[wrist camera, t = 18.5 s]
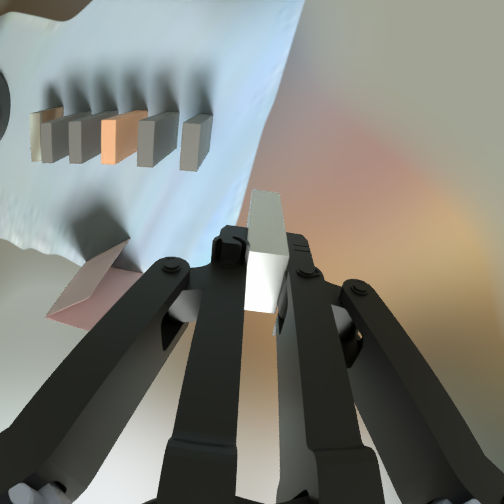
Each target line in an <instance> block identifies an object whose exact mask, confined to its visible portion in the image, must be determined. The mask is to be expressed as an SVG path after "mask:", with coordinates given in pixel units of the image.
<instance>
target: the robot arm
mask: <svg viewBox="0 0 504 504" xmlns="http://www.w3.org/2000/svg"><path fill="white" fill-rule="evenodd" d="M9 116H10V93H9V89H8V85H7V83H6V80H5V79H4V77H3V76H2V75H1V74H0V140H1V139H2V137H3V135H4V133H5V131H6V128H7V125H8V121H9ZM277 305H278V315H277V319H276V322H275V327H274V330H273V334H272V335H274V336H275V333H276V341H277V369H278V399H279V433H280V434H279V437H280V481H279V486H278V489H277V497H276V504H385V500H384V494H383V487H382V483H381V482H382V481H381V476H380V470H379V464H378V460H377V457H376V454H375V452H374V450H373V449H372V448H370V447H367V446H364V445H363V443H362V440H361V435H360V430H359V425H358V420H357V414H356V409H355V405H356V407H357V409H358V411H359V413H360V415H361V417H362V419H363V421H364V424H365V426H366V428H367V430H368V432H369V434H370V436H371V438H372V441H373V443H374V445H375V447H376V449H377V451H378V453H379V455H380V458H381V460H382V462H383V464H384V466H385V469H386V471H387V472H388V475H389V477H390V480H391V482H392V484H393V486H394V488H395V491H396V493H397V495H398V497H399V499H400V501H401V502H402V504H504V473H503V472H502V471H501V470H500V469H498V468H497V467H496V466H495V465H494V464H493V463H492V462H491V461H490V460H489V459H488V458H487V457H486V456H485V455H484V453H483V451H482V450H481V448H480V446H479V444H478V443H477V441H476V439H475V437H474V436H473V434H472V432H471V431H470V429H469V427H468V426H467V424H466V422H465V421H464V419H463V417H462V416H461V414H460V412H459V411H458V409H457V408H456V406H455V404H454V403H453V401H452V400H451V398H450V396H449V395H448V393H447V392H446V390H445V389H444V388H443V386H442V384H441V383H440V381H439V379H438V378H437V377H436V375H435V374H434V372H433V371H432V369H431V368H430V366H429V365H428V363H427V362H426V360H425V359H424V357H423V356H422V354H421V353H420V352H419V350H418V349H417V347H416V346H415V344H414V343H413V342H412V340H411V339H410V337H409V336H408V335H407V333H406V332H405V330H404V329H403V328H402V326H401V325H400V323H399V322H398V321H397V319H396V318H395V317H394V316H393V314H392V313H391V311H390V310H389V309H388V307H387V306H386V305H385V303H384V302H383V301H382V299H381V298H380V297H379V295H378V294H377V293H376V292H375V290H374V289H373V288H372V287H371V286H370V285H369V284H367V283H365V282H364V281H361V280H358V279H349V280H346V281H345V282H344V283H343V285H342V287H341V286H337V285H334V284H332V283H329V282H327V281H325V280H324V276H323V274H322V272H321V271H320V270H319V269H318V268H317V267H315V266H314V263H313V259H312V255H311V253H310V248H309V244H308V241H307V240H306V238H305V237H304V236H303V235H301V234H294V233H287V232H286V230H285V224H284V218H283V212H282V205H281V199H280V194H279V193H276V192H269V191H262V190H255V189H252V193H251V200H250V208H249V214H248V221H247V227H246V228H245V227H238V226H230V225H226V226H225V227H224V228H222V229H221V232H220V235H219V236H217V237H215V238H214V240H213V244H212V256H211V263H209V264H208V265H205V266H202V267H196V268H190V266H189V263H188V262H187V261H186V260H183V259H181V258H178V257H165V258H162V259H159V260H158V261H156V262H155V263H154V264H153V265H152V266H151V267H150V268H149V269H148V270H147V271H146V272H145V273H144V274H143V275H142V276H141V277H140V278H139V279H138V280H137V281H136V282H135V283H134V284H133V285H132V286H131V287H130V288H129V289H128V290H127V291H126V292H125V293H124V295H123V296H122V297H121V298H120V299H119V300H118V301H117V302H116V303H115V304H114V305H113V306H112V307H111V308H110V309H109V310H108V311H107V313H106V314H105V315H104V316H103V317H102V318H101V319H100V320H99V321H98V322H97V323H96V324H95V326H94V327H93V328H92V329H91V330H90V331H89V332H88V333H87V334H86V336H85V337H84V338H83V339H82V340H81V341H80V342H79V343H78V344H77V346H76V347H75V348H74V349H73V350H72V351H71V352H70V354H69V355H68V356H67V357H66V358H65V359H64V360H63V362H62V363H61V364H60V365H59V366H58V367H57V369H56V370H55V371H54V372H53V373H52V374H51V376H50V377H49V378H48V380H46V382H45V383H44V384H43V385H42V386H41V388H40V389H39V390H38V391H37V393H36V394H35V395H34V396H33V398H32V399H31V400H30V401H29V403H28V404H27V405H26V406H25V408H24V409H23V410H22V411H21V413H20V414H19V415H18V417H17V418H16V419H15V420H14V422H13V423H12V424H11V426H10V427H9V428H7V429H5V430H4V431H2V432H1V433H0V504H72V502H74V501H75V500H76V499H77V498H78V497H79V496H80V495H81V494H82V493H83V492H84V491H85V490H86V489H87V487H88V486H89V484H90V483H91V481H92V480H93V478H94V477H95V475H96V473H97V472H98V470H99V469H100V467H101V465H102V464H103V462H104V460H105V459H106V457H107V456H108V454H109V452H110V450H111V449H112V447H113V446H114V444H115V442H116V441H117V439H118V437H119V436H120V434H121V433H122V431H123V429H124V427H125V426H126V424H127V423H128V421H129V419H130V418H131V416H132V415H133V413H134V411H135V410H136V408H137V406H138V405H139V403H140V401H141V400H142V398H143V397H144V395H145V393H146V392H147V390H148V389H149V387H150V385H151V384H152V382H153V381H154V379H155V377H156V376H157V374H158V373H159V371H160V369H161V368H162V366H163V365H164V363H165V362H166V360H167V358H168V357H169V355H170V353H171V352H172V350H173V349H174V347H175V346H176V344H177V342H178V341H179V339H180V338H181V336H182V334H183V333H184V331H185V330H186V328H187V327H188V324H189V322H192V321H196V326H195V330H194V334H193V339H192V343H191V348H190V352H189V357H188V361H187V366H186V370H185V376H184V380H183V385H182V389H181V395H180V399H179V405H178V409H177V414H176V419H175V424H174V429H173V434H172V437H171V438H170V439H169V440H168V443H167V446H166V450H165V454H164V460H163V465H162V470H161V476H160V481H159V487H158V493H157V498H155V499H152V500H149V501H147V502H145V503H143V504H263V503H259V502H255V501H252V500H248V499H244V498H241V497H238V496H235V492H236V474H237V447H236V435H237V418H238V402H239V386H240V370H241V354H242V338H243V322H244V310H251V311H259V312H269V313H276V309H277ZM358 332H360V333H361V335H362V338H360V337H359V335H358ZM354 403H355V405H354Z"/></svg>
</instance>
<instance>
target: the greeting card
mask: <svg viewBox="0 0 504 504" xmlns="http://www.w3.org/2000/svg"><path fill="white" fill-rule="evenodd" d="M129 240H130V239H128V240H126V241H124V242H122V243H120V244H118V245H116V246H114V247H112V248H110V249H109V250H107V251H105V252H103V253H101V254H99V255H97V256H96V257H94V258H92V259H90V260H88V261H87V262H85V264H84V265H83V266H82V267H81V269H80V270H79V271H78V273H77V274H76V275H75V276H74V278H73V279H72V280H71V282H70V283H69V284H68V286H67V287H66V288H65V290H64V291H63V292H62V294H61V295H60V296H59V298H58V299H57V301H56V302H55V303H54V305H53V306H52V308H51V309H50V310H49V312H48V313H47V315H46V316H45V318H48V319H51V320H54V321H57V322H60V323H64V324H67V325H70V326H73V327H77V328H81V329H84V330H87V331H90V330H91V329H92V328H93V327H94V326H95V324H96V323H97V322H98V321H99V320H100V319H101V318H102V317H103V316H104V315H105V314H106V313H107V311H108V310H109V309H110V308H111V307H112V306H113V305H114V304H115V303H116V302H117V301H118V300H119V299H120V298H121V297H122V296H123V295H124V293H125V292H126V291H127V290H128V289H129V288H130V287H131V286H132V285H133V284H134V283H135V282H136V281H137V280H138V279H139V278H140V277H141V276H142V275H143V273H139V272H133V271H128V270H123V269H118V268H113V267H111V265H112V264H113V262H114V261H115V259H116V258H117V257H118V255H119V254H120V252H121V251H122V250H123V248H124V247H125V245H126V244H127V243H128V241H129Z"/></svg>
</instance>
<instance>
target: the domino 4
mask: <svg viewBox="0 0 504 504" xmlns="http://www.w3.org/2000/svg"><path fill="white" fill-rule="evenodd" d="M212 120H213V115H208V114H198V115H196V116H194V117H193V118H191V119H189V120H187V121H186V122H184V123H183V129H182V141H181V155H180V170H184V171H195V172H197V170H198V168H199V167H200V165H201V163H202V162H203V160H204V159H205V157H206V155H207V154H208V152H209V147H210V138H211V129H212Z"/></svg>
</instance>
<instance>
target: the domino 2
mask: <svg viewBox="0 0 504 504" xmlns="http://www.w3.org/2000/svg"><path fill="white" fill-rule="evenodd" d="M117 115H118V111H105V112H101V113H97V114H94V115H90V116H86V117H83V118H79V119H76V120H73V121H69V160H70V163H75V164H82V163H84V162H86V161H88V160H89V159H91V158H93V157H95V156H97V155H99V154H100V153H101V121H102V120H103V119H107V118H110V117H113V116H117Z"/></svg>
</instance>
